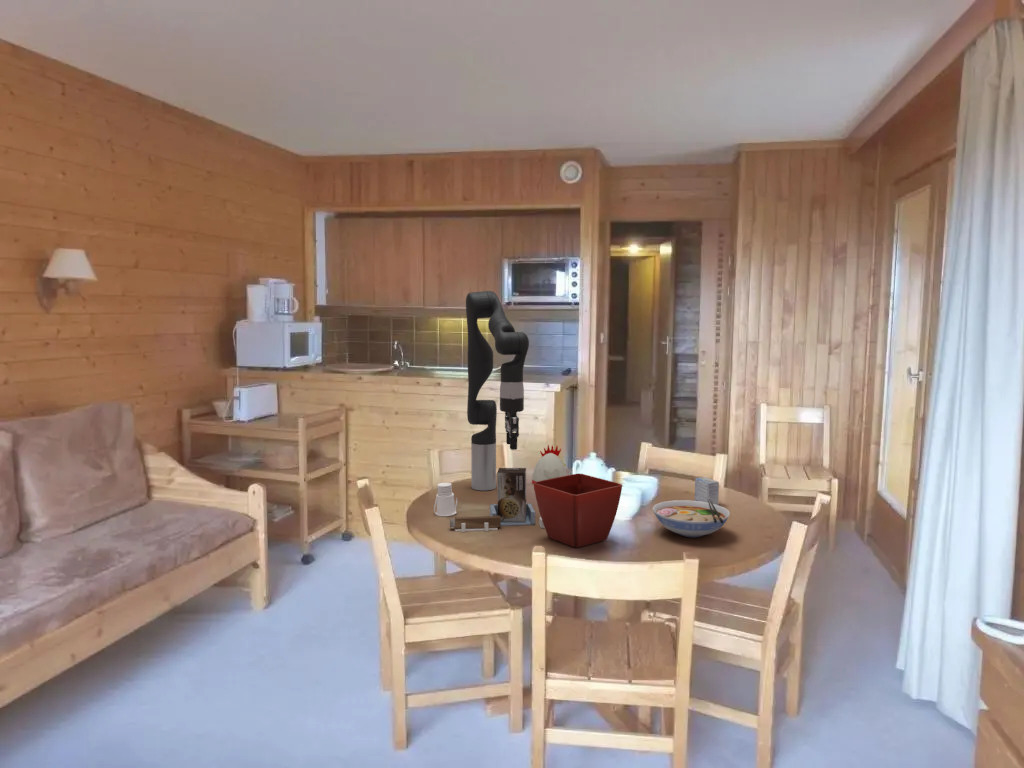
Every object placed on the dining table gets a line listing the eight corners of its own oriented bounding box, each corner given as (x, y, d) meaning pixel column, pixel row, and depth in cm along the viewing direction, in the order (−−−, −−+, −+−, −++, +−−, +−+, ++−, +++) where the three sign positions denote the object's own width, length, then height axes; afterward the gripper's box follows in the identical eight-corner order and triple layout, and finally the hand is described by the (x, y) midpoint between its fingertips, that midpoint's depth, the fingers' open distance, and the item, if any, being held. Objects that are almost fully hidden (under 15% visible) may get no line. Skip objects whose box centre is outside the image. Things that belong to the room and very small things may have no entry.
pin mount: (454, 526, 228) (454, 518, 228) (542, 523, 232) (542, 515, 231) (455, 532, 223) (455, 524, 222) (545, 529, 226) (545, 521, 225)
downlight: (453, 509, 247) (452, 480, 246) (461, 514, 241) (459, 485, 240) (431, 513, 244) (429, 483, 242) (438, 518, 238) (436, 488, 236)
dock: (489, 516, 239) (489, 504, 239) (530, 515, 241) (530, 503, 240) (492, 526, 229) (492, 513, 228) (535, 524, 230) (535, 512, 230)
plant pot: (531, 536, 219) (531, 481, 217) (578, 525, 230) (579, 472, 228) (574, 554, 204) (575, 495, 202) (623, 541, 215) (624, 484, 213)
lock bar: (449, 526, 227) (449, 517, 226) (499, 524, 228) (499, 515, 228) (450, 529, 224) (450, 519, 224) (500, 527, 226) (500, 518, 225)
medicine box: (718, 506, 251) (719, 481, 250) (707, 507, 250) (708, 482, 249) (704, 500, 259) (705, 476, 258) (694, 502, 257) (694, 477, 256)
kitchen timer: (569, 487, 277) (569, 448, 275) (533, 487, 276) (533, 448, 275) (566, 478, 290) (566, 441, 289) (531, 478, 290) (531, 441, 288)
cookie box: (526, 516, 238) (527, 467, 236) (525, 522, 231) (525, 472, 229) (498, 515, 238) (498, 467, 236) (496, 521, 232) (496, 471, 230)
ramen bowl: (651, 519, 236) (651, 494, 235) (724, 523, 232) (725, 498, 231) (652, 545, 211) (653, 517, 210) (734, 549, 208) (735, 521, 207)
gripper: (497, 393, 237) (497, 442, 238) (502, 399, 223) (502, 451, 224) (520, 392, 238) (520, 442, 239) (527, 398, 224) (526, 451, 225)
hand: (511, 446), depth 232 cm, fingers open, 8 cm apart
